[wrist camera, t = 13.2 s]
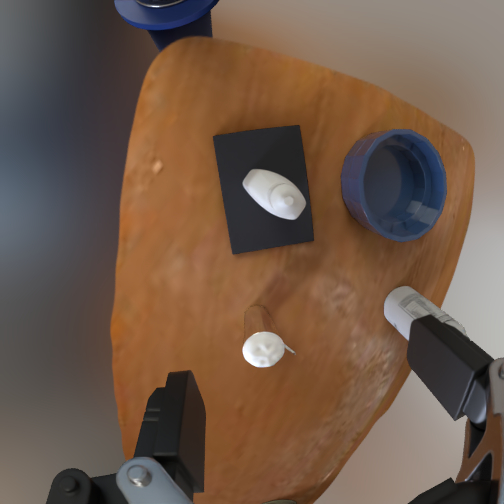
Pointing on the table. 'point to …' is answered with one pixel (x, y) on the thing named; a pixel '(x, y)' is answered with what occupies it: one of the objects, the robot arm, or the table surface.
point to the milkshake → (261, 338)
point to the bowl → (394, 184)
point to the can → (281, 502)
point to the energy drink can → (412, 310)
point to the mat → (243, 205)
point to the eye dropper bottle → (274, 193)
